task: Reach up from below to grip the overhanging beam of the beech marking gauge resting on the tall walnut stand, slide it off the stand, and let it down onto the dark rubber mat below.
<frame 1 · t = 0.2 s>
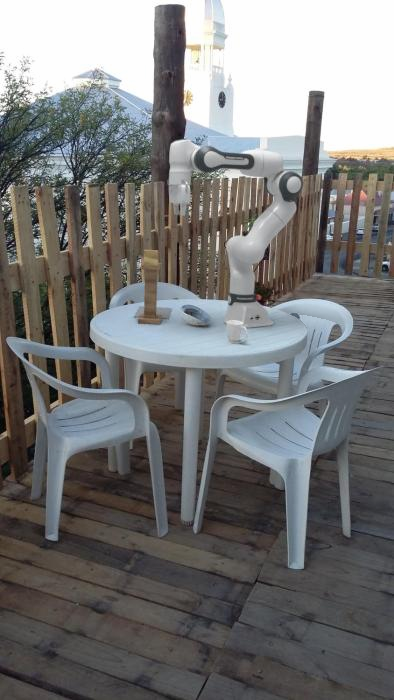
hand: (179, 215, 239), 48 cm above the table, tool pointing down, fingers open, 8 cm apart
cup: (236, 342, 231), on the table
rubber mat: (153, 313, 274), on the table
walnut stand: (150, 321, 258), on the table
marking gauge: (151, 263, 251), point 26 cm above the table, touching walnut stand
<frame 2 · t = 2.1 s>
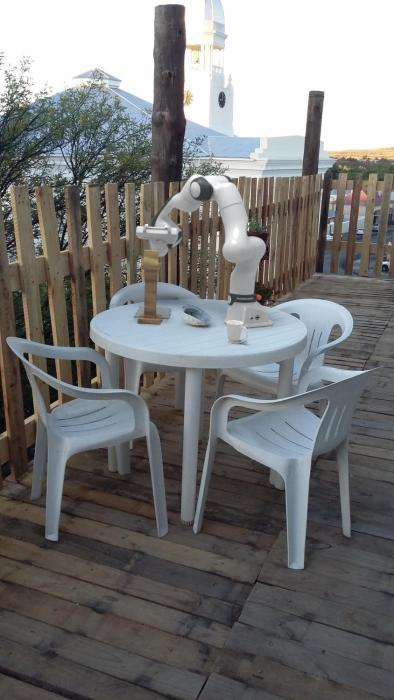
hand: (156, 226, 267), 41 cm above the table, tool pointing upward, fingers open, 8 cm apart
nothing on the table moved.
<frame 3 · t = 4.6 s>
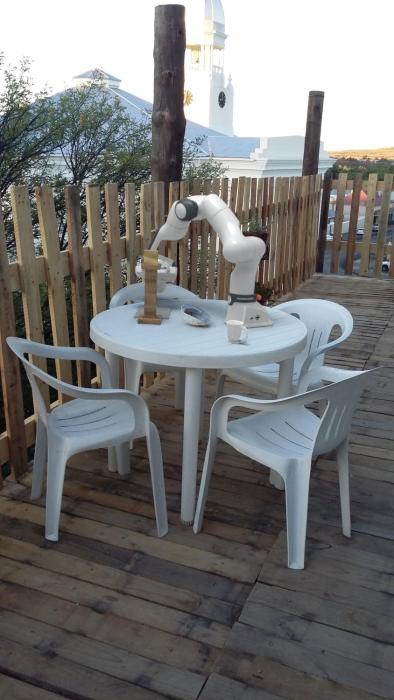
hand: (155, 265, 269), 22 cm above the table, tool pointing upward, fingers open, 8 cm apart
nothing on the table moved.
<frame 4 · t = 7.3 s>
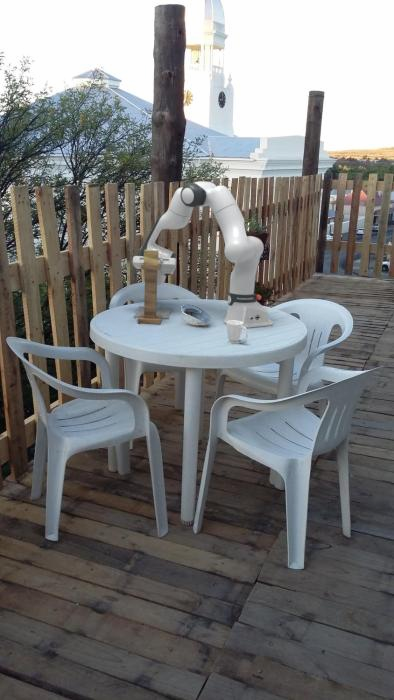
hand: (153, 256, 259), 28 cm above the table, tool pointing upward, fingers closed on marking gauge, 3 cm apart
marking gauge: (151, 263, 251), point 26 cm above the table, touching gripper, walnut stand
everything else where it was.
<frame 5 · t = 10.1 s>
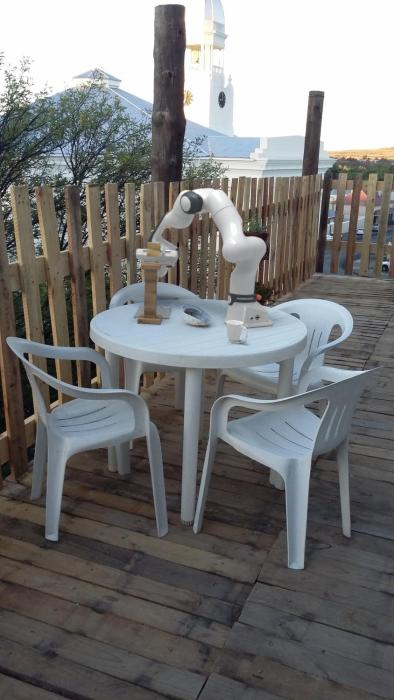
hand: (156, 248, 271), 30 cm above the table, tool pointing upward, fingers closed on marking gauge, 3 cm apart
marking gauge: (154, 255, 262), point 28 cm above the table, touching gripper
everything else where it was.
when the fingers open (19 cm above the table, at t = 13.3 s): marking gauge drops 17 cm, resting on rubber mat.
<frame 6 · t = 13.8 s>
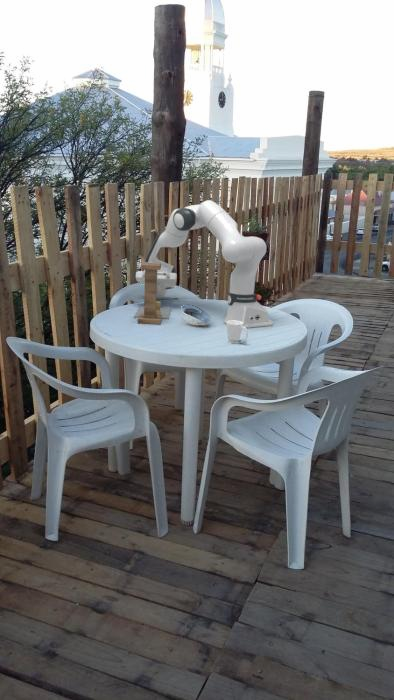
hand: (155, 271, 274), 19 cm above the table, tool pointing upward, fingers open, 8 cm apart
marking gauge: (154, 313, 271), resting on rubber mat
everything else where it was.
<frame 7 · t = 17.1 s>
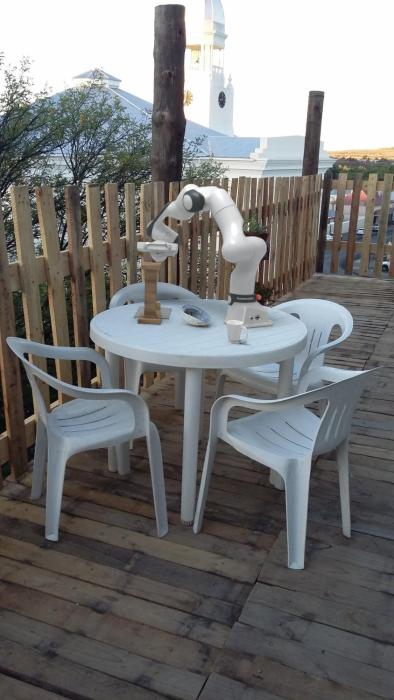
hand: (156, 244, 275), 31 cm above the table, tool pointing upward, fingers open, 8 cm apart
nothing on the table moved.
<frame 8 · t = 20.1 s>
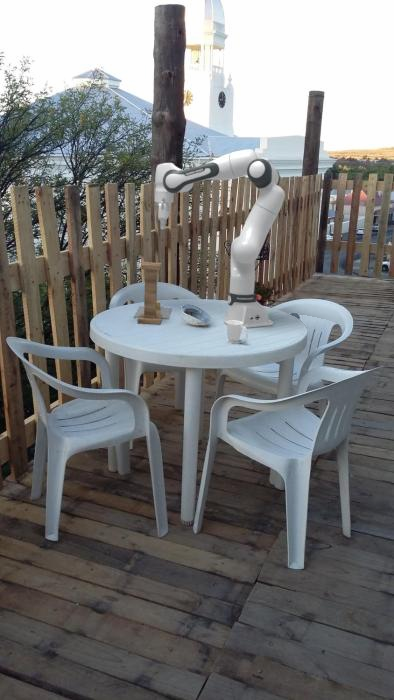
hand: (163, 228, 273), 39 cm above the table, tool pointing down, fingers open, 8 cm apart
nothing on the table moved.
at the end: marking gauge inside the target area on the rubber mat (0.8 cm from its centre), point 0.5 cm above the rubber mat's base; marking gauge moved 29.0 cm from its start; the gripper is holding nothing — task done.
